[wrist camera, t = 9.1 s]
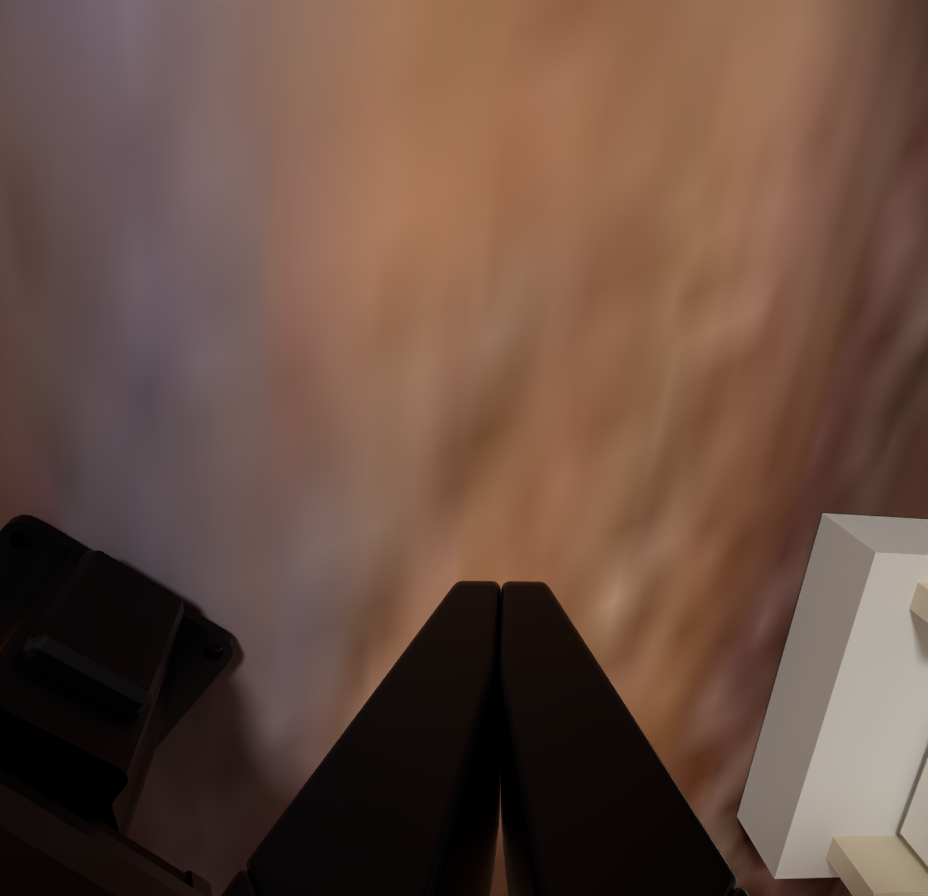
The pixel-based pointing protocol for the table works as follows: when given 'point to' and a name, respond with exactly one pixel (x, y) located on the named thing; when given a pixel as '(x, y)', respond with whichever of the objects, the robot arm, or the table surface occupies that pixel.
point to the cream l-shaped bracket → (848, 714)
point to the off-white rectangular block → (918, 818)
